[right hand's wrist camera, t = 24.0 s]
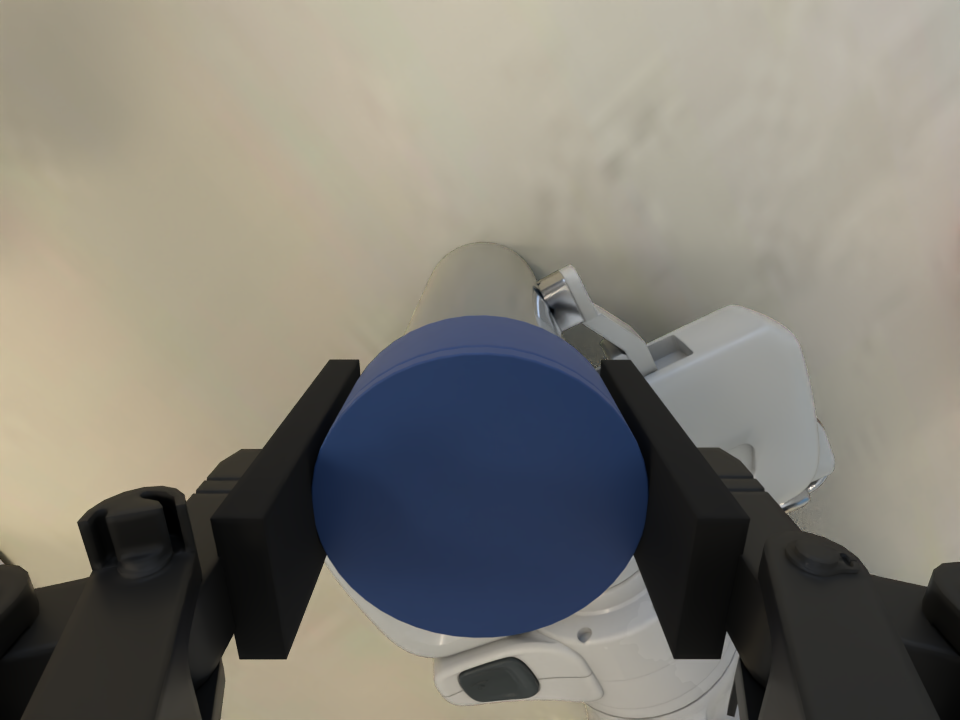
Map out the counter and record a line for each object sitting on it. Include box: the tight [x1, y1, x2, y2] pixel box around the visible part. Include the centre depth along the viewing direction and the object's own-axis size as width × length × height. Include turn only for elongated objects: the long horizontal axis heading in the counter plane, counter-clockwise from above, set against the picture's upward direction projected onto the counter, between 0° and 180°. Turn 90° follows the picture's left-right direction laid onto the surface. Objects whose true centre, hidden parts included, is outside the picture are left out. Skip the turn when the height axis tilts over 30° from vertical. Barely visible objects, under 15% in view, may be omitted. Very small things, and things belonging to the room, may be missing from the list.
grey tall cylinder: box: [403, 242, 565, 341], centre depth 19 cm, size 6×6×16 cm
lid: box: [311, 315, 649, 638], centre depth 11 cm, size 6×6×2 cm
